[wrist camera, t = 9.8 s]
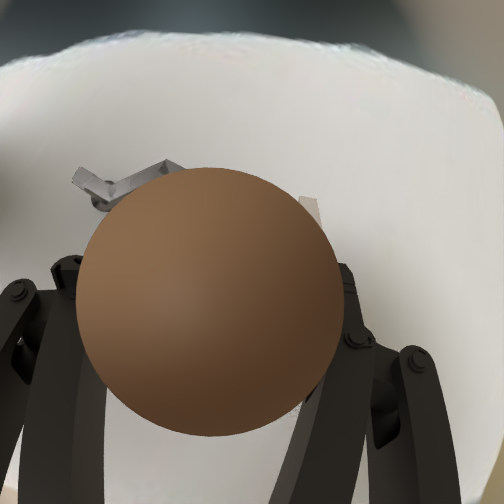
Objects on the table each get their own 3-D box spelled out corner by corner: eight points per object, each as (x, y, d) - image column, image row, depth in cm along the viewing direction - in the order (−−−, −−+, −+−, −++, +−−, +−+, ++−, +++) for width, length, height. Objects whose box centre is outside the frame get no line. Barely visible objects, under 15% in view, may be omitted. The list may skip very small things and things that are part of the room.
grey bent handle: (89, 217, 30) (56, 199, 23) (97, 181, 30) (67, 156, 23) (229, 230, 30) (227, 212, 23) (234, 191, 31) (233, 163, 24)
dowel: (165, 280, 17) (40, 253, 5) (242, 235, 18) (253, 125, 6) (211, 357, 17) (165, 471, 5) (289, 312, 17) (388, 346, 5)
